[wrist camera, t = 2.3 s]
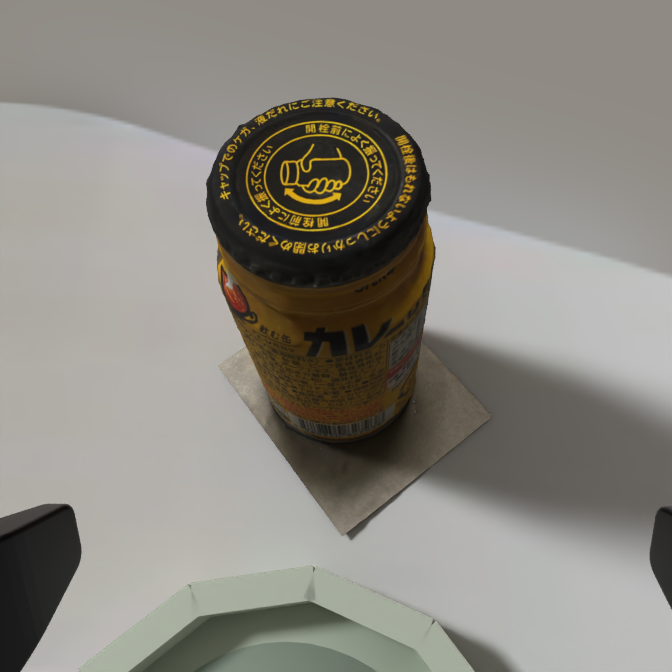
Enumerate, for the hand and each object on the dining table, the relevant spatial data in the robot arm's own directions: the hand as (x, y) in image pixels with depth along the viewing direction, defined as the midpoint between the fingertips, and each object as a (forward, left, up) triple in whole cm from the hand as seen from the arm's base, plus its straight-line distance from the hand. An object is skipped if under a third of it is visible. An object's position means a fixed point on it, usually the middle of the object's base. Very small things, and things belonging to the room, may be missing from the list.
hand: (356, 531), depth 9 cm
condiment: (+7, 0, -13) cm, 15 cm away
